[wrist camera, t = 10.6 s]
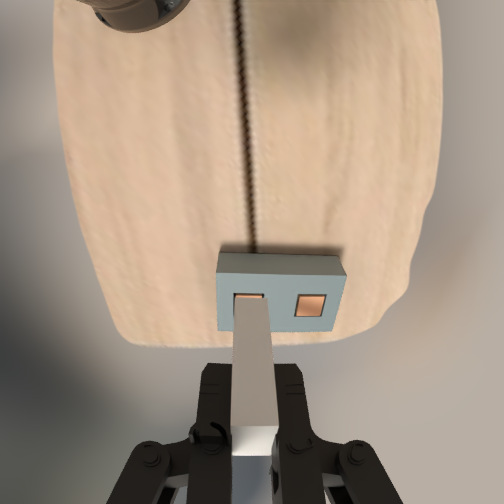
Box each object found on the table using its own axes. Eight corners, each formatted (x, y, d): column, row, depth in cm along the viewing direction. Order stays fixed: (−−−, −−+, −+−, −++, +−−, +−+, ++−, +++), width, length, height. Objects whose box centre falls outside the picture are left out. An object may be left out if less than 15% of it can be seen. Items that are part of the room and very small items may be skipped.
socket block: (219, 252, 50) (216, 272, 45) (337, 255, 51) (346, 275, 45) (220, 308, 56) (217, 330, 51) (325, 309, 57) (331, 331, 51)
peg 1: (236, 273, 52) (235, 295, 46) (260, 274, 52) (262, 296, 47) (236, 292, 54) (235, 315, 48) (259, 293, 54) (260, 315, 49)
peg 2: (294, 275, 52) (299, 296, 47) (317, 275, 52) (324, 296, 47) (292, 293, 54) (296, 315, 49) (313, 293, 54) (320, 315, 49)
